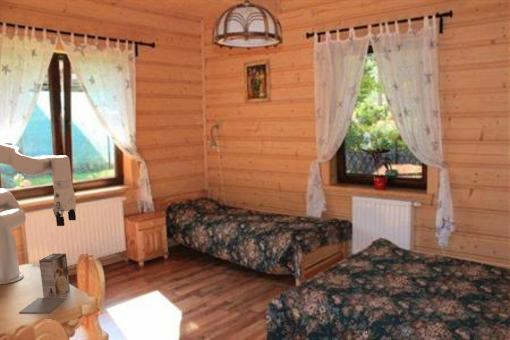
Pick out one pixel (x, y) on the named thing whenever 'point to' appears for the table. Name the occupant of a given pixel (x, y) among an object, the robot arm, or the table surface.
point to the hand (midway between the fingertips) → (66, 222)
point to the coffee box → (54, 275)
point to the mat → (43, 305)
